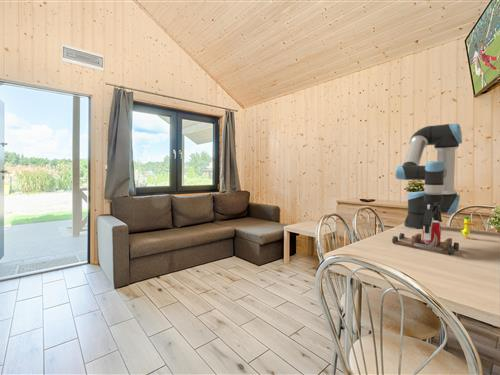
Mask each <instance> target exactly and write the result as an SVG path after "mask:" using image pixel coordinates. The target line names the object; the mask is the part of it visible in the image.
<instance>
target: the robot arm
mask: <svg viewBox="0 0 500 375" xmlns="http://www.w3.org/2000/svg"><path fill="white" fill-rule="evenodd" d="M461 128H462V127H461V124H460V123H445V124H437V125H428V126H424V127H422V128H420V129H418V130H417V131H415V132H414V133H413V134H412V135H411V137H410V139H409V141H408V145H409V147H408V149H407V152H406V155H405V157H404V160H403V162H402V164H401V165H397V166H396V167H395V174H394V175H395V178H396V179H397V180H401V181H402V180H403V181H409V180H410V181H419V180H420V181H424V186H423V187H422V189H423V190H424V191H423V190H422V191H414V192H413V191H411V192H410V193H408V196H407V215H406V218H405V219H404V222H403V223H404V226H405V227H406V228H407V227H408V228H413V229H418V230H419V229H421V230H423V226H424V239H425V240H431V222H432V220H436V221H439V223H440V224H441V223H442V222H443V219H442V214H455V213H457V212H458V206H459V203H460V198H461V195H460V194H458V191H457V190H455V173H456V172H455V168H456V167H455V166H456V150H457V149H458V148H459V147H460V144H462V143H463V134H462V129H461ZM427 146H433V147H434V150H436V152H437V154H436V155H437V157H436V161H432V160H431V161H426V162H425V163H424V164H425V165H420V163H421V159H422V156H423V152H424V150H425V148H426V147H427Z"/></svg>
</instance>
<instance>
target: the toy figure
mask: <svg viewBox="0 0 500 375" xmlns="http://www.w3.org/2000/svg"><path fill="white" fill-rule="evenodd" d="M463 225H464V229H460V232H461V234H463V235H464V236H465V237H464V239H466V240H470V237H469V236H470V234H471V230H470V229H469V226H471V227H472V226H473V227H475V226H477V225H478V224H477V223H474V222H470V218H469V216H464V222H463Z"/></svg>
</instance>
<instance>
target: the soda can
mask: <svg viewBox="0 0 500 375" xmlns="http://www.w3.org/2000/svg"><path fill="white" fill-rule="evenodd" d="M441 236H442V226H441V222H440V223H439V221H436V220H434V219H432V222H431V240H425V239H424V226H423V229H422V238H423V243H424V244H425V245H429V246H434V247H437V246H439V245H440V241H441V240H442V239H441V238H442V237H441Z"/></svg>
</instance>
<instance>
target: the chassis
mask: <svg viewBox="0 0 500 375" xmlns="http://www.w3.org/2000/svg"><path fill="white" fill-rule="evenodd" d="M391 241H392V242H391V243H393V244H394V245H396V246H401V247H407V248H412V249H415V250H421V251H425V252H426V251H427V252H431V253H437V254H442V255H446V256H448V255H452V256H453V255H454V254H455V251H459V249H460V244H459V242H456V241H455V242H453V238H452V237H448V238H446V239H445V240H443V241H441V240H440V245H439V246H437V247H434V246H429V245H425V244H424V243H423V237H422V233H421V232H418V233H416V234H414V235H412V236H411V238H409V237H406V236H405V233H402V232H400V233H399V236H396V235H393V237H392V239H391Z"/></svg>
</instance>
